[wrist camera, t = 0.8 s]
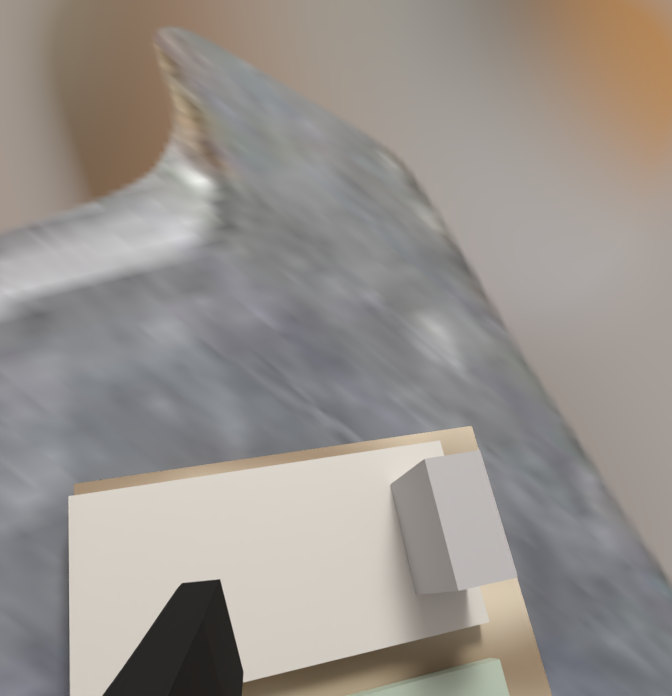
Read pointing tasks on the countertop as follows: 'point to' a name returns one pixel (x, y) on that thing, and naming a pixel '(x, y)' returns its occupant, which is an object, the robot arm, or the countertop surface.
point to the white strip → (289, 557)
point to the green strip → (450, 682)
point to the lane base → (407, 658)
